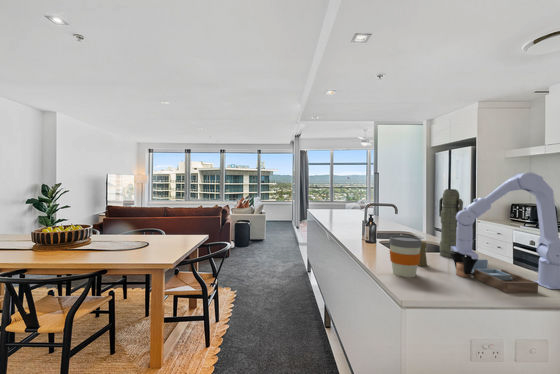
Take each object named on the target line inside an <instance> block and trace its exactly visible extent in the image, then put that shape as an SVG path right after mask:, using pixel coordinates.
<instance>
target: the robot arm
mask: <svg viewBox="0 0 560 374" xmlns="http://www.w3.org/2000/svg"><path fill="white" fill-rule="evenodd" d="M520 190H522V191H526V192H528V193H530V194H531V195H533V196H535V202H536V210H537V219H538V227H539V235H540V236H539V238H538V245H537V247H536V253H537V255H538V256H539V258H538V271H537V272H538V275H537V280H534V281H535V282H537V283H538V286H542V287H544V288H547V289H549V290H560V237H559V229H558V227H559V226H558V221H557V220H558V219H557V212H556V211H557V210H556V204H555V202H556V201H555V197H554V196H555V195H554V190H553V188H552V187H551V186H550V185H549V184H548V183H547V182H546V181H545V180H544V178H543V176H542V175H540V174H537V173H534V172H531V171H530V172H525V173H523V172H519V173H516V174H514V176H513V177H512V176H511V177H510V178H508V179H506V180H505V181H504V182H503V183H501V184H500V185H499V186H497V188H495V189H494V190H492V191H491V192H489V194H488V195H486V196H485V197H477V198H474V199H473V200H472V201H473V202H472V203H470V204H468V205H467V206H463V210H461V211H459V212H458V213H457V215H456V216H455V217H456V220H457V221H458V222H457V231H456V246H451V251H454V253H451V256H452V258H451V259H453V263H454V267H455V268H456V263H457V262H463V264H464V273H465V274H470V275H471V274H472V269H473V266H474V264H475V263H476V262H477V261H478V259H479V254H478V253H477V252H475V251H473V235H474V234H473V232H474V229H473V224H474V223H475V221H476V219H478V218H479V217H481V216H482V215H484V214H485V213H487V212H488V211H489V210H491V208H492V204H493V203H494V202H495V201H496V202H497V200H499V199H501V198H502V197H503V196H506V195H507V194H508V193H509V192H513V191H514V192H515V191H520Z"/></svg>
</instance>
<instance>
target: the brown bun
mask: <svg viewBox="0 0 560 374" xmlns="http://www.w3.org/2000/svg"><path fill="white" fill-rule="evenodd" d="M455 270H456V271H455V276H457V277H461V278H470V277H471V274H465V273H464V264H463V262H457V263H456V267H455Z"/></svg>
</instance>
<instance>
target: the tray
mask: <svg viewBox="0 0 560 374" xmlns="http://www.w3.org/2000/svg"><path fill="white" fill-rule="evenodd" d="M488 264H489V263H488V259H486V258H485V259H484V258H481V259H479V258H478V261H477V262H476V263H475V264H474V266H473V269H472V272H471V274H474V269H477V270H479V271H481V272H484V273H486V274H488V275H491V276H493V277H495V278H498V279H500V280H513V278H511V277H510V275H509V274H507V273H504V272H502V271H501V270H499V269H496V268H489V267H488Z"/></svg>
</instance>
